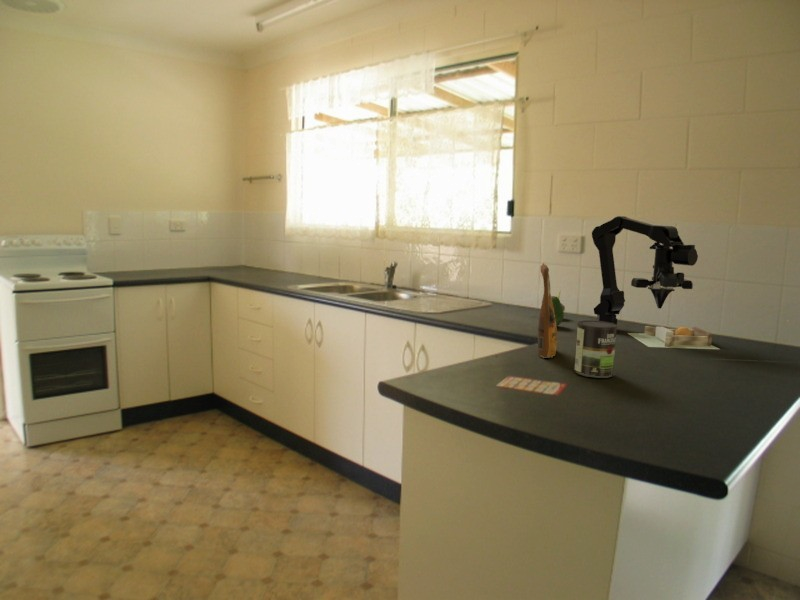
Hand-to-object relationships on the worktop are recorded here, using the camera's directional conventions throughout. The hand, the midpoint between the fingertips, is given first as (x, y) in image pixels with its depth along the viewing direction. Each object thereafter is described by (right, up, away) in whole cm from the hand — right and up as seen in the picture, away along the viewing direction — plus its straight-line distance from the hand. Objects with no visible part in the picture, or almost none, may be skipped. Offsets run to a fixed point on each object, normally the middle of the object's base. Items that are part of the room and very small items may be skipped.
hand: (659, 308), depth 200 cm
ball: (+9, -9, +1) cm, 12 cm away
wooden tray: (+7, -11, +1) cm, 14 cm away
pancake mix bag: (-44, -14, -18) cm, 50 cm away
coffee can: (-36, -18, -41) cm, 57 cm away
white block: (+2, -12, +2) cm, 12 cm away
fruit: (-30, -8, +24) cm, 40 cm away
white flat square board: (+5, -12, +2) cm, 13 cm away
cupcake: (-25, -5, +42) cm, 49 cm away
